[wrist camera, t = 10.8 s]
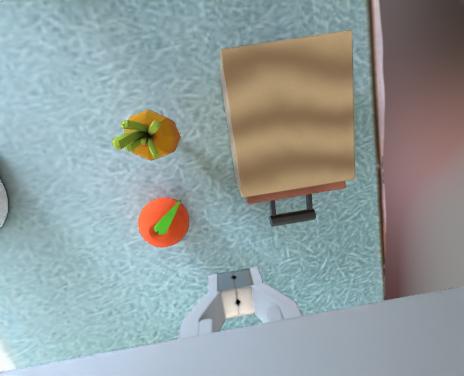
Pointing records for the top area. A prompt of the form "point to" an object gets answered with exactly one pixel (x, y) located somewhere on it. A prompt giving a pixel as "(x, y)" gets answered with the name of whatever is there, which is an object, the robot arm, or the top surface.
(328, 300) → the top surface
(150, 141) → the carrot
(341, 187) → the drawer
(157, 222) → the clementine
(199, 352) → the robot arm
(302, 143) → the cabinet
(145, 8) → the top surface
